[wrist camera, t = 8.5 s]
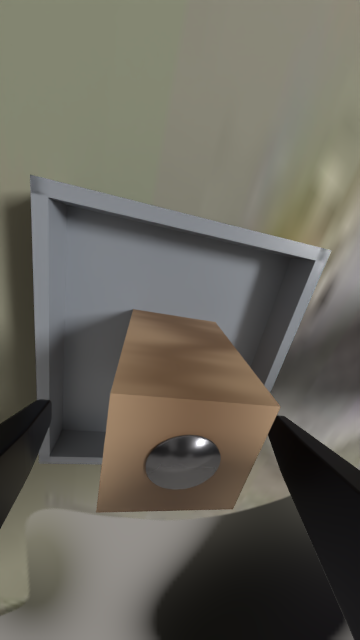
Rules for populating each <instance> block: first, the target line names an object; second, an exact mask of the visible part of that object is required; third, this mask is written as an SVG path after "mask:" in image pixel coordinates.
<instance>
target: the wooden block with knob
mask: <svg viewBox="0 0 360 640" xmlns="http://www.w3.org/2000/svg"><path fill="white" fill-rule="evenodd" d="M279 409H280V405H279V404H278V403H277V402H276V400H275V399H274V398H273V396H272V395H271V394H270V392H269V391H268V390H267V388H266V387H265V386H264V385H263V383H262V382H261V381H260V379H259V378H258V377H257V375H256V374H255V373H254V372H253V370H252V369H251V368H250V366H249V365H248V364H247V362H246V361H245V360H244V359H243V357H242V356H241V355H240V353H239V352H238V351H237V349H236V348H235V347H234V346H233V344H232V343H231V342H230V340H229V339H228V338H227V336H226V335H225V334H224V333H223V331H222V330H221V329H220V327H219V326H218V325H217V323H216V322H212V321H206V320H199V319H193V318H186V317H180V316H174V315H167V314H161V313H155V312H148V311H142V310H135V309H133V312H132V315H131V319H130V323H129V326H128V330H127V334H126V337H125V341H124V345H123V348H122V352H121V356H120V359H119V363H118V367H117V371H116V374H115V378H114V382H113V385H112V389H111V393H110V400H109V409H108V417H107V426H106V434H105V443H104V451H103V460H102V468H101V476H100V485H99V493H98V502H97V510H96V512H136V511H177V510H217V509H233V508H234V506H235V504H236V501H237V499H238V497H239V495H240V493H241V491H242V488H243V486H244V484H245V482H246V480H247V478H248V476H249V473H250V471H251V469H252V467H253V465H254V463H255V461H256V458H257V456H258V454H259V452H260V450H261V448H262V446H263V443H264V441H265V439H266V437H267V435H268V433H269V431H270V428H271V426H272V424H273V422H274V420H275V418H276V416H277V413H278V411H279Z"/></svg>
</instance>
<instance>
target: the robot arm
mask: <svg viewBox="0 0 360 640" xmlns="http://www.w3.org/2000/svg"><path fill="white" fill-rule="evenodd" d="M51 419H52V402H51V400H44V399H39V400H36V401H35V402H33V403H32V404H30V405H29V406H27V407H25V408H24V409H22V410H21V411H19V412H18V413H16V414H15V415H13V416H12V417H10V418H8V419H7V420H5V421H4V422H2V423H1V424H0V528H1V526H2V525H3V523H4V521H5V519H6V517H7V515H8V513H9V511H10V509H11V508H12V506H13V504H14V502H15V500H16V498H17V496H18V494H19V493H20V491H21V489H22V487H23V485H24V483H25V481H26V479H27V477H28V475H29V473H30V471H31V469H32V467H33V465H34V462H35V460H36V457H37V455H38V453H39V450H40V448H41V445H42V443H43V441H44V438H45V436H46V433H47V431H48V428H49V426H50V423H51ZM268 436H269V439H270V442H271V445H272V448H273V451H274V454H275V457H276V459H277V462H278V465H279V468H280V471H281V473H282V476H283V478H284V481H285V483H286V485H287V487H288V490H289V492H290V494H291V497H292V499H293V501H294V503H295V506H296V508H297V510H298V512H299V515H300V517H301V519H302V522H303V524H304V526H305V529H306V531H307V533H308V535H309V538H310V540H311V542H312V544H313V547H314V549H315V551H316V553H317V556H318V558H319V560H320V563H321V565H322V567H323V570H324V572H325V574H326V576H327V579H328V581H329V583H330V586H331V588H332V590H333V592H334V595H335V597H336V599H337V601H338V604H339V606H340V608H341V611H342V613H343V615H344V618H345V619H346V622H347V624H348V626H349V629H350V631H351V633H352V636H353V638H354V640H360V470H358V469H357V468H356V467H354V466H353V465H352V464H350V463H349V462H347V461H346V460H345V459H343V458H342V457H340V456H339V455H338V454H336V453H335V452H333V451H332V450H331V449H329V448H328V447H327V446H325V445H324V444H322V443H321V442H320V441H318V440H317V439H315V438H314V437H313V436H311V435H310V434H308V433H307V432H306V431H304V430H303V429H302V428H300V427H299V426H297V425H296V424H295V423H293V422H292V421H290V420H289V419H288V418H286V417H285V416H276V418H275V420H274V422H273V424H272V426H271V428H270V431H269V433H268Z"/></svg>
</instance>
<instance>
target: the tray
mask: <svg viewBox="0 0 360 640" xmlns="http://www.w3.org/2000/svg"><path fill="white" fill-rule="evenodd" d="M30 186H31V219H32V252H33V285H34V318H35V351H36V384H37V400H39V399H44V400H51V402H52V419H51V423H50V426H49V428H48V431H47V433H46V436H45V438H44V441H43V443H42V445H41V448H40V450H39V463H53V464H102V460H103V451H104V443H105V434H106V426H107V417H108V409H109V400H110V393H111V389H112V385H113V382H114V378H115V374H116V371H117V367H118V363H119V359H120V356H121V352H122V348H123V345H124V341H125V337H126V334H127V330H128V326H129V323H130V319H131V315H132V312H133V309H135V310H142V311H148V312H155V313H161V314H167V315H174V316H180V317H186V318H193V319H199V320H206V321H212V322H216V323H217V325H218V326H219V327H220V329H221V330H222V331H223V333H224V334H225V335H226V336H227V338H228V339H229V340H230V342H231V343H232V344H233V346H234V347H235V348H236V349H237V351H238V352H239V353H240V355H241V356H242V357H243V359H244V360H245V361H246V362H247V364H248V365H249V366H250V368H251V369H252V370H253V372H254V373H255V374H256V375H257V377H258V378H259V379H260V381H261V382H262V383H263V385H264V386H265V387H266V388H267V390H268V391H269V392H271V390H272V387H273V385H274V383H275V380H276V378H277V376H278V373H279V371H280V369H281V367H282V364H283V362H284V360H285V357H286V355H287V353H288V350H289V348H290V346H291V343H292V341H293V339H294V336H295V334H296V332H297V329H298V327H299V325H300V322H301V320H302V318H303V315H304V313H305V311H306V308H307V306H308V304H309V301H310V299H311V297H312V294H313V292H314V290H315V287H316V285H317V283H318V280H319V278H320V276H321V274H322V271H323V269H324V267H325V264H326V262H327V260H328V257H329V255H330V253H331V250H328V249H324V248H320V247H316V246H312V245H308V244H304V243H300V242H296V241H292V240H288V239H284V238H280V237H276V236H272V235H268V234H264V233H260V232H256V231H252V230H248V229H244V228H240V227H236V226H232V225H229V224H225V223H221V222H217V221H213V220H209V219H205V218H201V217H197V216H193V215H189V214H185V213H181V212H177V211H173V210H169V209H165V208H161V207H157V206H153V205H149V204H145V203H141V202H137V201H133V200H129V199H125V198H121V197H117V196H113V195H109V194H105V193H101V192H97V191H93V190H89V189H85V188H82V187H78V186H74V185H70V184H66V183H62V182H58V181H54V180H50V179H46V178H42V177H38V176H34V175H30Z"/></svg>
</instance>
